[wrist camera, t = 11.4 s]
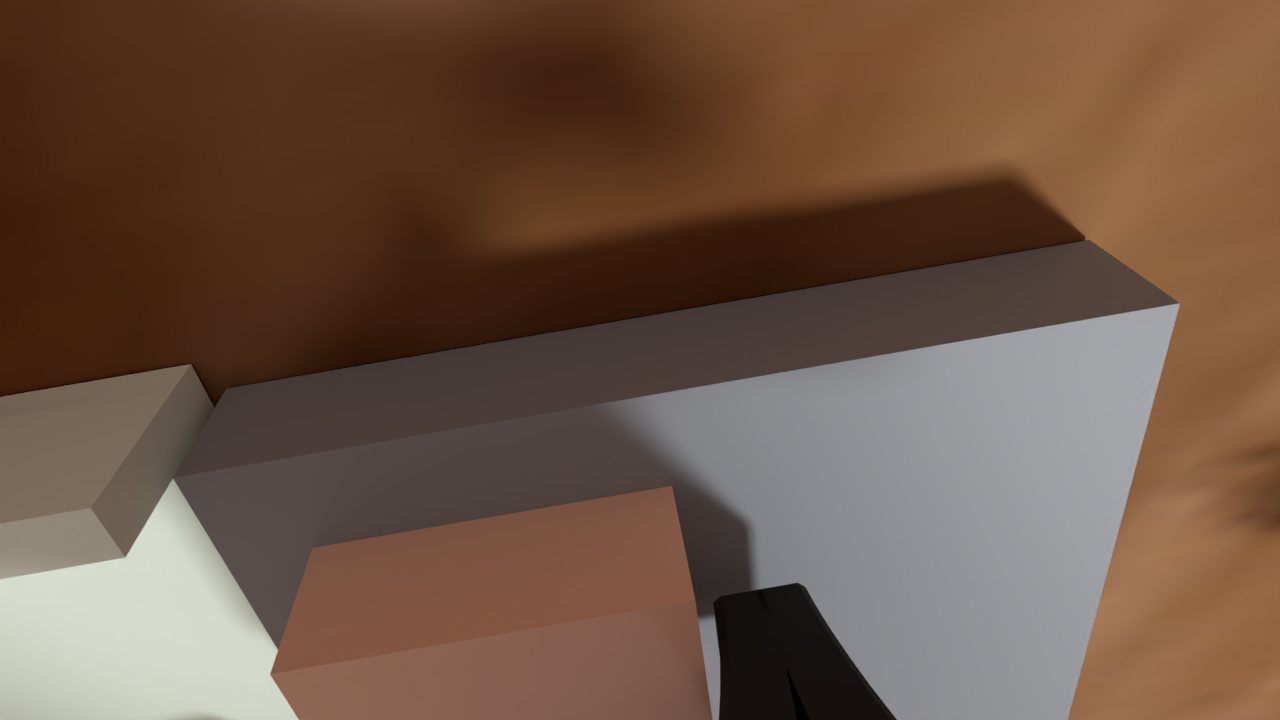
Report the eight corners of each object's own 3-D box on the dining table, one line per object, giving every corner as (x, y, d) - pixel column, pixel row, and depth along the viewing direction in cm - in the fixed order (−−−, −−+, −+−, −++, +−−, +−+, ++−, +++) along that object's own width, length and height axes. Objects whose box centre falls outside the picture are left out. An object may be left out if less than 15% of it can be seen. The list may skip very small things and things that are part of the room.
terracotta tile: (705, 700, 14) (726, 820, 12) (417, 752, 14) (399, 878, 12) (671, 485, 11) (695, 600, 9) (312, 547, 11) (270, 674, 9)
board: (987, 781, 20) (1027, 866, 18) (478, 873, 20) (472, 967, 18) (1089, 240, 12) (1179, 303, 10) (226, 388, 12) (172, 477, 10)
